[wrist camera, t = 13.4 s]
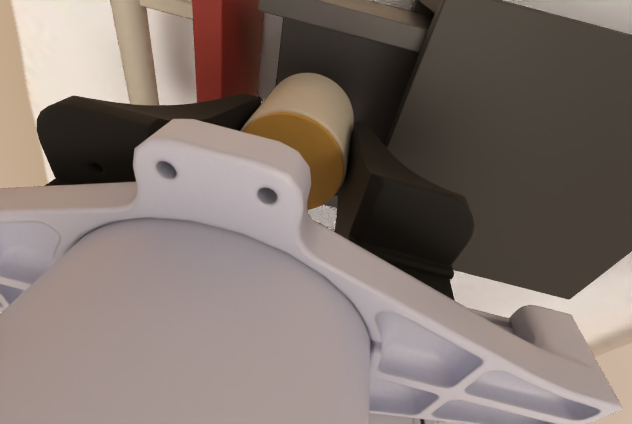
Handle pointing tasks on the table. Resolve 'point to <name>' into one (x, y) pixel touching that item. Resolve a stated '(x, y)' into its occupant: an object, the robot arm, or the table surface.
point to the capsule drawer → (284, 49)
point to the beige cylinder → (310, 128)
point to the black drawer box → (524, 139)
